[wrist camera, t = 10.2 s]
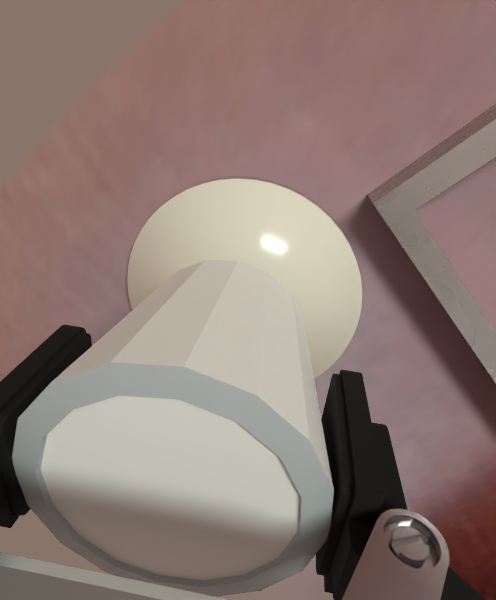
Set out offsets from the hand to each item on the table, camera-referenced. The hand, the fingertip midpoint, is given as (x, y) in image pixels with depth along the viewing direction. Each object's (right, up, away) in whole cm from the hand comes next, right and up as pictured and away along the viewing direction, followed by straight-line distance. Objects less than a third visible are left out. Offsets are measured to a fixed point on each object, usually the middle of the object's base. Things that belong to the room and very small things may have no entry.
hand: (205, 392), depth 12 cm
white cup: (0, +2, +3) cm, 3 cm away
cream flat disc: (+1, +3, +6) cm, 7 cm away
